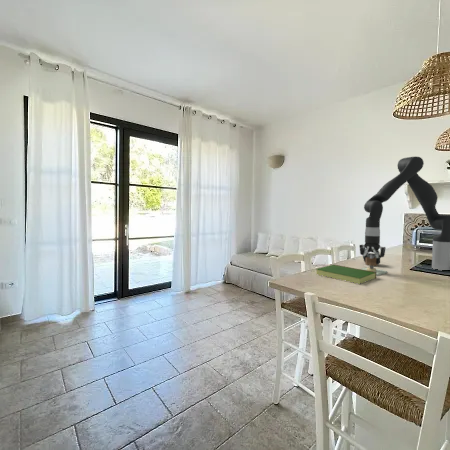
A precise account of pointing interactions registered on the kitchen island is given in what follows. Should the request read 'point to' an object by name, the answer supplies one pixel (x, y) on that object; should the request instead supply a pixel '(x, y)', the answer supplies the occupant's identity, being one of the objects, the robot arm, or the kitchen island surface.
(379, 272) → the post
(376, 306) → the kitchen island surface
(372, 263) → the ring
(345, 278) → the hardcover book
